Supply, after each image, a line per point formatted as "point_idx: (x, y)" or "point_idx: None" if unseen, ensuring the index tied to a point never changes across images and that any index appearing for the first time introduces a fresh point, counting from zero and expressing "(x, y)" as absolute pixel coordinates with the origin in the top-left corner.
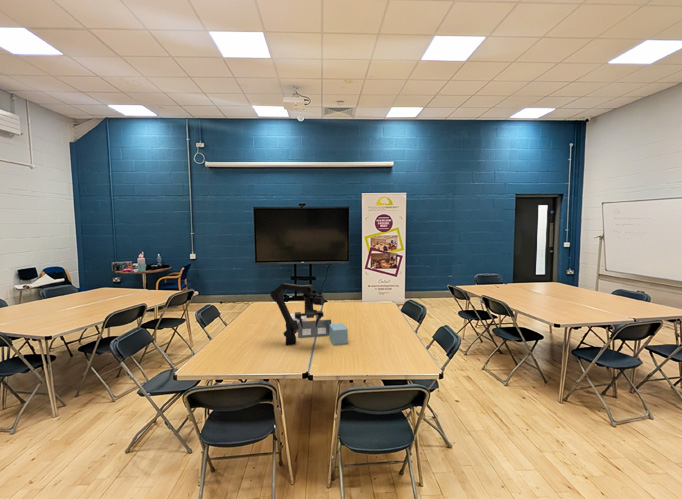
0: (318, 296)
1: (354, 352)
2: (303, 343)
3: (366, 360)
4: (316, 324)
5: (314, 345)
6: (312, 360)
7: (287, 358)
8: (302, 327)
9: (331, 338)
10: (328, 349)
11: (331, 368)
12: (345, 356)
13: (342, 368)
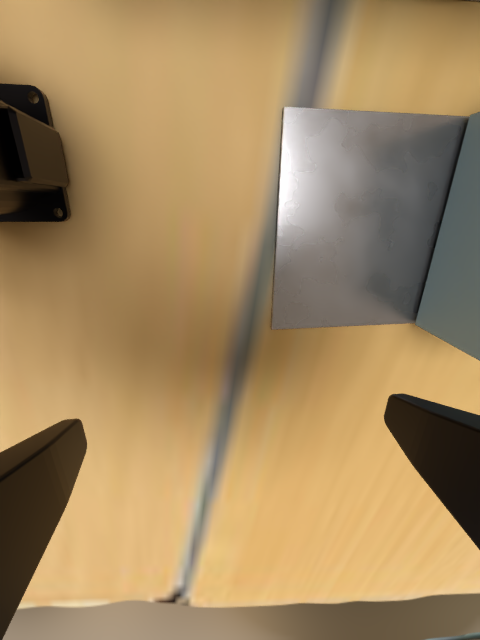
0: None
1: None
2: (162, 196)
3: None
4: (432, 476)
5: (267, 279)
6: (214, 507)
7: None
8: (81, 458)
9: (463, 250)
10: (352, 378)
11: (291, 570)
12: (403, 477)
13: (336, 570)
